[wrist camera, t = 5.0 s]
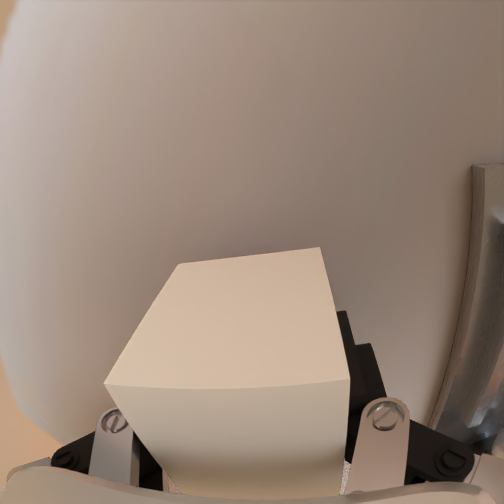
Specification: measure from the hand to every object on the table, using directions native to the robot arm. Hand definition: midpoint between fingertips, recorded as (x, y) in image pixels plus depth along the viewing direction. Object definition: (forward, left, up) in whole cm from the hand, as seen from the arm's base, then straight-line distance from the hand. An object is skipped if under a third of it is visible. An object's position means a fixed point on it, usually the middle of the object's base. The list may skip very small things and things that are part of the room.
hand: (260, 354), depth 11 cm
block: (0, 0, -1) cm, 1 cm away
